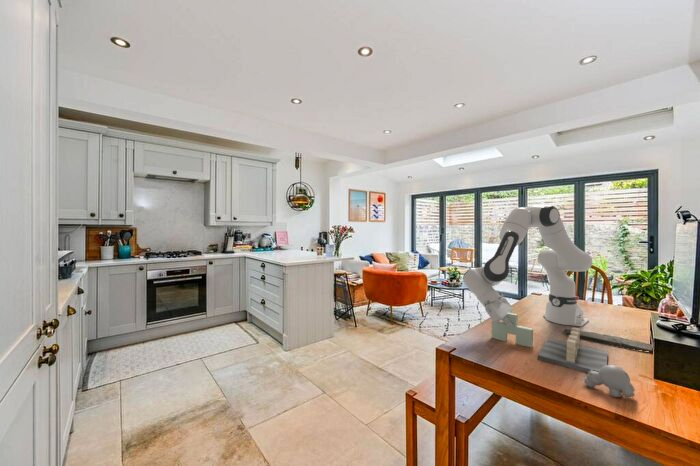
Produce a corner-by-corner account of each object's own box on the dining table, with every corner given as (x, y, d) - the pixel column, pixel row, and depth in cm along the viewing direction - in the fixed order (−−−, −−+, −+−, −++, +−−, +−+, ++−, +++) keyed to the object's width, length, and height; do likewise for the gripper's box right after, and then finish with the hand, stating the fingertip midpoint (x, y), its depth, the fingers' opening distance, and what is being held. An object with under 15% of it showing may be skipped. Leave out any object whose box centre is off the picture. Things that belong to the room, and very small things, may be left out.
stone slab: (565, 325, 146) (651, 340, 126) (565, 332, 146) (651, 347, 126) (563, 331, 138) (654, 347, 118) (563, 338, 138) (654, 355, 118)
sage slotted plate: (491, 337, 135) (492, 310, 134) (493, 336, 136) (493, 309, 136) (531, 347, 124) (532, 318, 124) (532, 345, 126) (533, 317, 125)
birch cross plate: (548, 341, 131) (548, 321, 131) (607, 354, 118) (608, 332, 117) (537, 359, 113) (538, 336, 113) (606, 377, 100) (606, 351, 100)
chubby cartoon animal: (591, 390, 97) (580, 363, 99) (638, 390, 89) (625, 361, 91) (586, 398, 92) (574, 369, 94) (636, 399, 84) (622, 368, 86)
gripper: (488, 299, 127) (512, 327, 120) (501, 291, 142) (524, 316, 135) (477, 307, 130) (500, 335, 123) (491, 299, 145) (513, 323, 139)
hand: (513, 325), depth 130 cm, fingers closed on sage slotted plate, 2 cm apart
